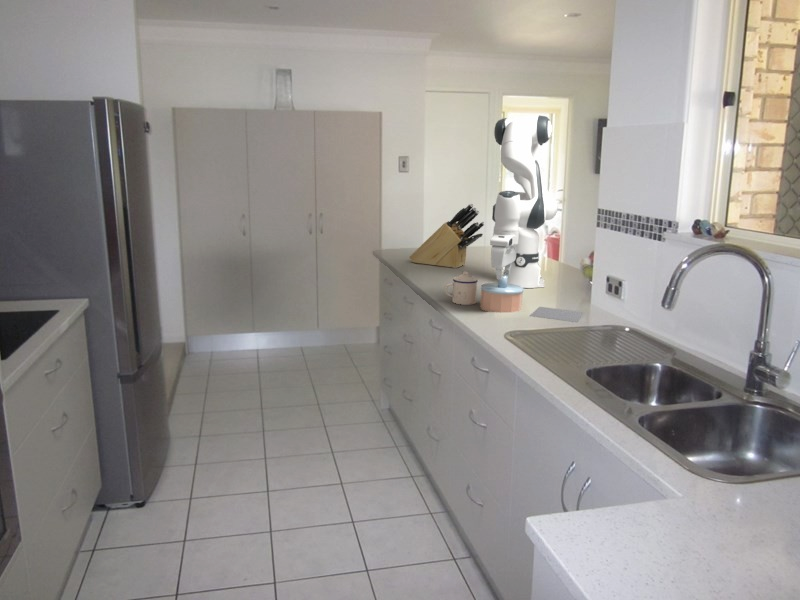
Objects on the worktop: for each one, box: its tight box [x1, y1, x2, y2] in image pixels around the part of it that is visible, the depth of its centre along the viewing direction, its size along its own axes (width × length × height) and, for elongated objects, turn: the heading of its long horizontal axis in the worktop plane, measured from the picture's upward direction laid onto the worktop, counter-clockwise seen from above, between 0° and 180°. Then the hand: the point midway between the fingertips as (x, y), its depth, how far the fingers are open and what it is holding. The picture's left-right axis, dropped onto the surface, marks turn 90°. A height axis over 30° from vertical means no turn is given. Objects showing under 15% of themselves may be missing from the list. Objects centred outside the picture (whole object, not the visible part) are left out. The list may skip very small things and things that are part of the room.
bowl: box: [479, 290, 524, 313], centre depth 231 cm, size 14×14×7 cm
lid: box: [480, 274, 525, 294], centre depth 230 cm, size 15×15×5 cm
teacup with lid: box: [444, 270, 478, 306], centre depth 239 cm, size 12×9×12 cm
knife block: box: [409, 203, 486, 269], centre depth 316 cm, size 11×35×31 cm, turn 61°
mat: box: [529, 306, 585, 323], centre depth 225 cm, size 16×16×1 cm
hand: (503, 277), depth 230 cm, fingers open, 8 cm apart
